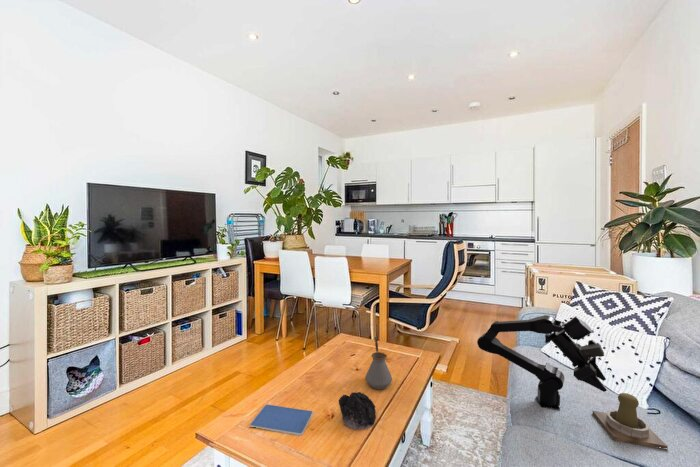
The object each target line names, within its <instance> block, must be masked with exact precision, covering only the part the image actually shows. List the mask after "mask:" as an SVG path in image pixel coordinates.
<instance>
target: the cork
mask: <svg viewBox="0 0 700 467" xmlns="http://www.w3.org/2000/svg"><path fill="white" fill-rule="evenodd" d="M617 400H618V403H619V404H618V407H617V408H618V409H617V410H618V412H617V416H616V420H615V421H617V422H619V423H620V424H622V425H625V426H628V427H631V428H636V429H639V428H638V419H637V417H638V412H637V408H638V406H639V405H640V404H639V403H640V402H639V400H638V398H637V397H636V396H634V395H633V394H629V393H626V392H621V393H619V394H618V396H617Z"/></svg>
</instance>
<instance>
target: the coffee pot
mask: <svg viewBox="0 0 700 467" xmlns="http://www.w3.org/2000/svg"><path fill="white" fill-rule="evenodd" d="M374 342H375V345H374V346H375V351H376V352H373V353H372V354H371V358H372V362H371V364H370V366H369V368H368V369H367V372H366V374H365V381H366V383H367V384H368V385H369V386H370V387H371V388H372V389H374V390H385V389H386V388H388V387H389V386H390V385H391V384H392V381H393V377H392V374H391V372H390V369H389V367H388V365H387V362H386V359H387V357H388V355H387V354H386V353H384V352H379V344H378V337H376V336H375V337H374Z"/></svg>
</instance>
